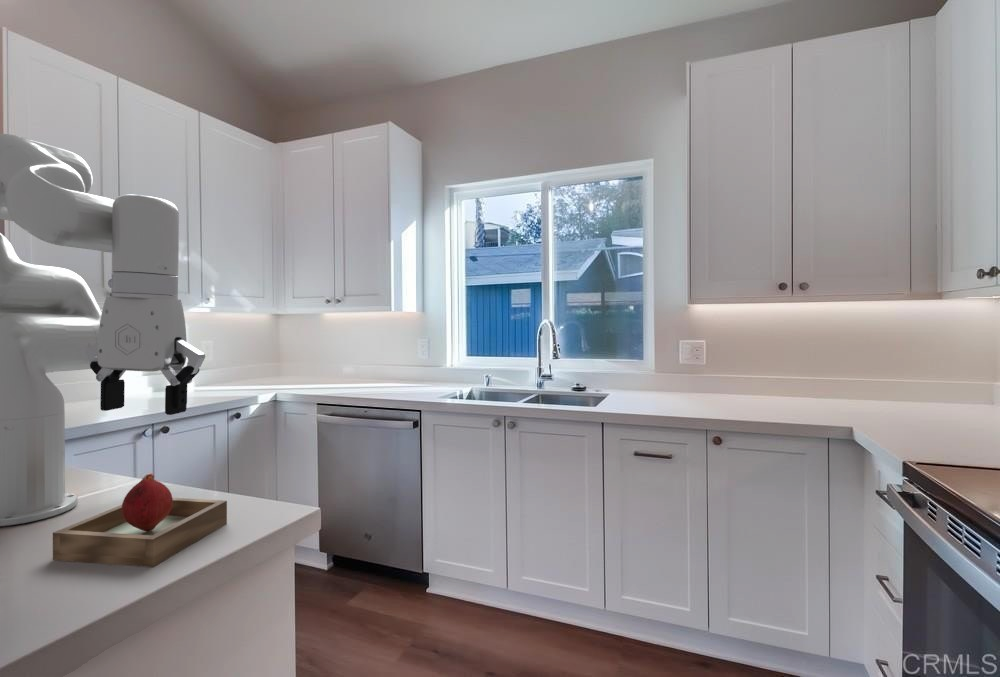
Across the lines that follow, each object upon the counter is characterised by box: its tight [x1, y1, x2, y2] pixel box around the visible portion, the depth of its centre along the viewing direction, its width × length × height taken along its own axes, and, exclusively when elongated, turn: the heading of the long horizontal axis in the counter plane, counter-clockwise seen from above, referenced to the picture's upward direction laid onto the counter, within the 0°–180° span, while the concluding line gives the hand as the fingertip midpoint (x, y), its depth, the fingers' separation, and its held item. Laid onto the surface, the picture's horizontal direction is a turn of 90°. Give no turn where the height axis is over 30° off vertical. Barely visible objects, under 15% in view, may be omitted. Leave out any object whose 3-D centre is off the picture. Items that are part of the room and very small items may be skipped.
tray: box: [52, 497, 228, 568], centre depth 70 cm, size 14×14×4 cm
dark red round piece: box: [121, 472, 173, 531], centre depth 70 cm, size 6×6×8 cm
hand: (144, 411), depth 70 cm, fingers open, 9 cm apart
